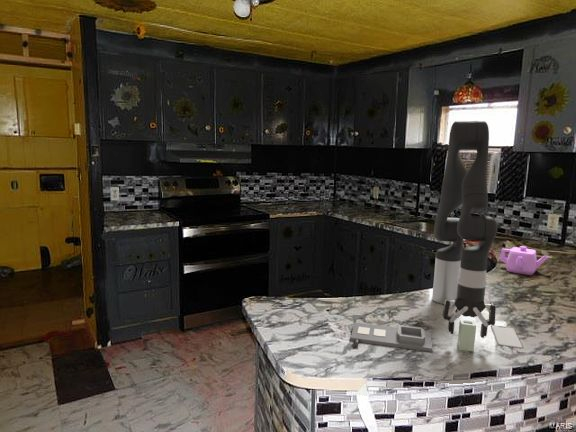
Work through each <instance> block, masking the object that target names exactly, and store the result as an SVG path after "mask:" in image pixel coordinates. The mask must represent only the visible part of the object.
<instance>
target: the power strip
mask: <svg viewBox="0 0 576 432" xmlns="http://www.w3.org/2000/svg"><path fill="white" fill-rule="evenodd" d="M353 323H354V324H353V328H352V331H351V335H350V341H351V342H354V344H353V346H354V348H358V347H359V343H365V344H374V345H381V346H387V347H388V346H389V347H395V348H396V347H397V348H403V349H409V350H417V351H424V352H431V353H432V352H433V343H432V338H431V332H430V331H425V328H424V329H423V327H418V326H410V325H409V326H408V325H400V324H399V325H398V326H397V327H394V326H387V325H386V326H385V325H379V324H371V323H362V322H353Z"/></svg>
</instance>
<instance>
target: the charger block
mask: <svg viewBox="0 0 576 432" xmlns="http://www.w3.org/2000/svg"><path fill="white" fill-rule="evenodd" d="M476 330H477V324H476V322H475V320H471V319H462V318H460V319H459V323H458V334H457V336H458V337H457V348H458V349H459V350H461V351H462V350H463V351H468V352H474V351H475V342H476V332H477V331H476Z"/></svg>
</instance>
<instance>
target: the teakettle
mask: <svg viewBox="0 0 576 432" xmlns="http://www.w3.org/2000/svg"><path fill="white" fill-rule="evenodd" d="M506 253H508V255H507V257H506ZM548 258H549V256H548V255H543V256H542V257H540V258H539V259H538V260H537V250H535V249H532V248H531V249H530V248H528V247H527V246H524V245H521V246H519V247H516V246H513V247H511V248H510V249H509V248H501V251H500V255H499V260H500V261H501V262H503V263H504V264H505V267H506V268H505V269H506V271H507V272H508V273H509V272H510V273H514V274H515V273H516V274H521V275H527V276H532V275H534V274H535V273H536V270H537V269H538V268H539V267H541V265H542V264H543V263H545V261H546V260H547V259H548Z"/></svg>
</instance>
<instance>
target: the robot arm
mask: <svg viewBox="0 0 576 432" xmlns="http://www.w3.org/2000/svg"><path fill="white" fill-rule="evenodd" d="M489 142H490V129H489V124H488V123H487V122H486V120H480V119H479V120H477V119H476V120H474V119H473V120H472V119H471V120H468V119H467V120H455V121H454V122H453V123H452V125H451V126H450V131H449V137H448V149H447V158H446V164H445V169H444V175H443V180H442V185H441V190H440V198H439V205H438V210H437V214H436V217H435V220H434V226H433V236H434V239H435V240H437V241H440V242H452V243H451V244H449V245H448V246H446V247H441V248H438V249H437V250H436V252H435V261H434V262H435V263H434V273H433V274H434V276H433V286H432V297H431V299H432V301H433V302H435V303H438V304H440V305H443V310H442V318H443V320H444V321H448V325H447V329H448V332H449V333H450V335H454V330H455V321H456V320H457V319H459V318H460V317H461V316H463V317H470V318H476V317H477V318H478V320H479V321H480V322H481V324H480V334H479V336H480V338H481V339H485V337H486V336H487V334H488V327H489V326H491V325H495V324H496V308H497V307H496V305H495V304H494V303H493V302H490V303H485V297H486V296H485V295H486V285H487V268H488V267H487V266H488V257H489V253H490V250H491V247H492V245H493V243H494V241H495V239H496V236H497V233H498V227H499V226H498V223H497V221H496V219H495V218H494V217H492V216H488V215H487V216H485V215H483V216H482V215H472V213H476V212H477V213H478V212H482V211H485V210H486V209H487V208H488V207H489V197H488V196H489V195H488V194H489V193H488V182H487V181H488V177H487V175H488V164H489V163H488V161H489V146H490V145H489V144H490V143H489ZM469 150H470V151H476V156H475V158H474V161H473V163H472V165H471V166H470V168H469V169H467V168H466V166H465V165H464V164H463V161H462V159H461V157H460V155H459V154H460V153H459V152H460V151H469ZM460 206H461V212H460V216H459V217H450V215H451V214H452V213H453V212H454V211H455V210H457V209H458V208H459V207H460ZM464 240H467V241H478V244H476V245H473V246H467V247H464V248H463V244H464ZM452 306H454V307H456V308H455V309H454V310H453V312H452V313H451V314H450V315H449V312H450V308H452ZM485 309H486V310H487V312H488V319H486V318H485V317H484V316H483V315H484V314H482V312H483V311H484V310H485ZM495 326H496V325H495Z"/></svg>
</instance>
